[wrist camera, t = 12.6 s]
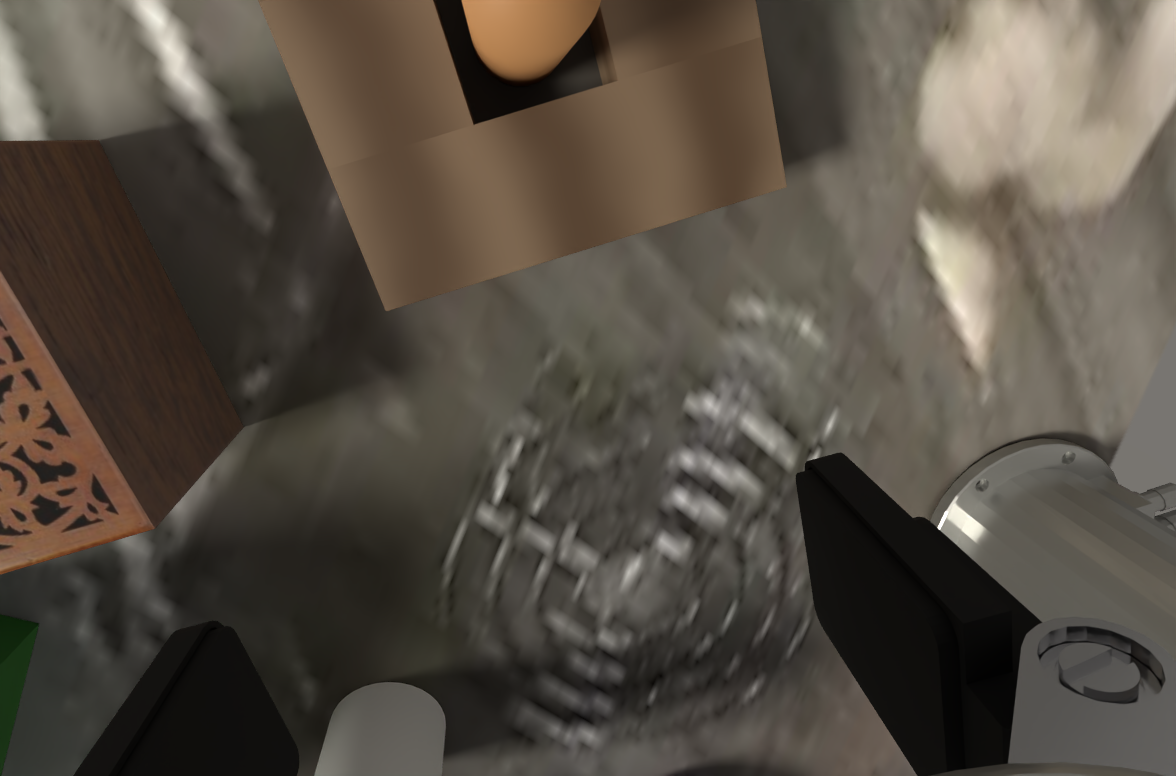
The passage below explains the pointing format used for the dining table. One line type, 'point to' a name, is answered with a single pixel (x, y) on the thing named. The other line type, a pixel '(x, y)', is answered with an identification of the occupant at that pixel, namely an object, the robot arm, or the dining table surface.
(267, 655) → the dining table surface
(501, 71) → the pin
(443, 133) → the block
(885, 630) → the robot arm
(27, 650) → the hardback book
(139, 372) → the tissue box cover
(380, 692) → the cylindrical container
